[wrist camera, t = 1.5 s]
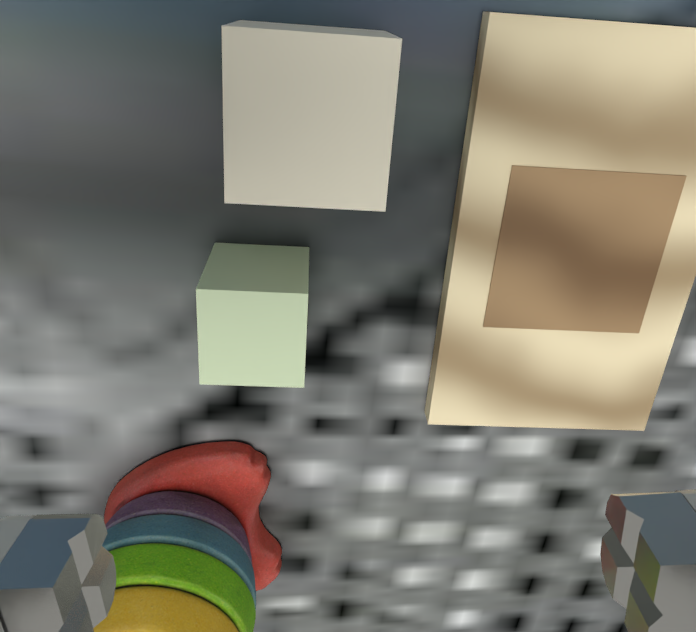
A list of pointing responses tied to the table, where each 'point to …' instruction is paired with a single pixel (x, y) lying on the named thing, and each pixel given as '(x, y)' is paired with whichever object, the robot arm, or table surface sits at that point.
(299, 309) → the sage cube
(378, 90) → the cream block
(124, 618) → the stacking bear
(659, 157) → the base board
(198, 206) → the table surface
